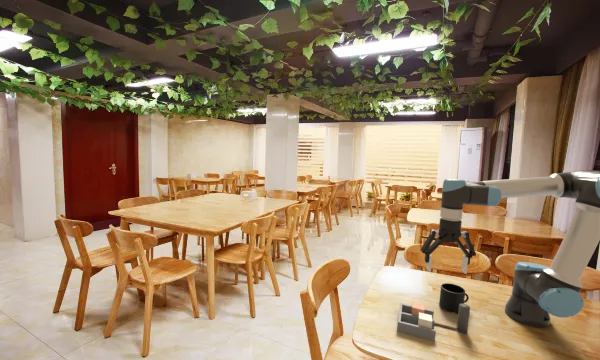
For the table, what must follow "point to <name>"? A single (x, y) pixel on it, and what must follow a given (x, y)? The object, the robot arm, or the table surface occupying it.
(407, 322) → the lane shelf
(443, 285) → the mug
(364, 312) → the table surface
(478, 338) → the table surface
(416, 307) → the block
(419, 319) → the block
